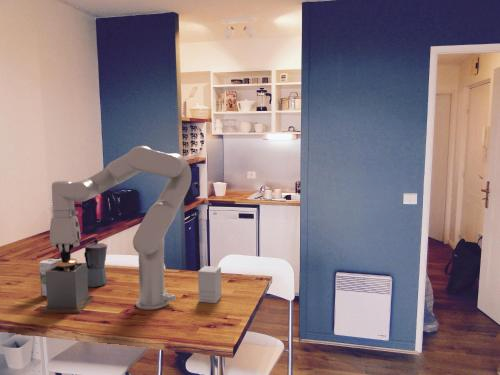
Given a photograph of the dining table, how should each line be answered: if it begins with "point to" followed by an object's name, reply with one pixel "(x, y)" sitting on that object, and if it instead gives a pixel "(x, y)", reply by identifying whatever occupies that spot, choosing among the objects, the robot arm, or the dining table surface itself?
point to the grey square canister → (67, 289)
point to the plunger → (66, 264)
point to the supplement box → (209, 284)
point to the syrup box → (44, 267)
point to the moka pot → (96, 263)
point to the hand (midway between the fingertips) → (66, 261)
